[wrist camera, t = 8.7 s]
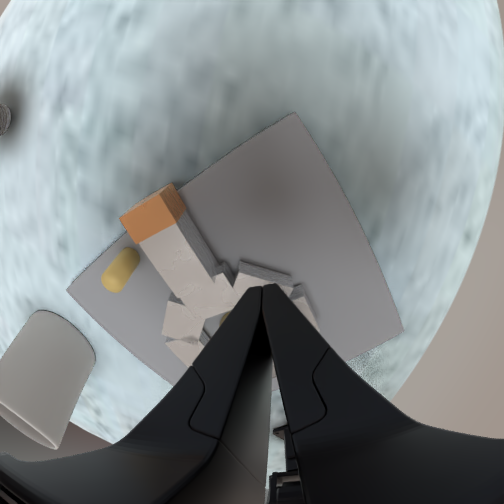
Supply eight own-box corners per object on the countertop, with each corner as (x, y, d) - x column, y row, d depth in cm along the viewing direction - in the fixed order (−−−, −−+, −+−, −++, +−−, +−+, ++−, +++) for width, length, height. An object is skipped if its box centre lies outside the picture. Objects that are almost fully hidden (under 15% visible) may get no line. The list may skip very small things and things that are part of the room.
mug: (25, 297, 20) (-33, 375, 10) (93, 329, 21) (42, 429, 11) (45, 365, 25) (12, 430, 16) (101, 391, 27) (75, 466, 17)
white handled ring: (234, 149, 13) (231, 155, 11) (329, 347, 20) (335, 368, 18) (93, 231, 15) (76, 247, 13) (215, 381, 22) (212, 401, 20)
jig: (400, 322, 20) (417, 356, 17) (210, 402, 26) (206, 433, 22) (292, 112, 13) (305, 112, 10) (71, 283, 19) (48, 312, 15)
